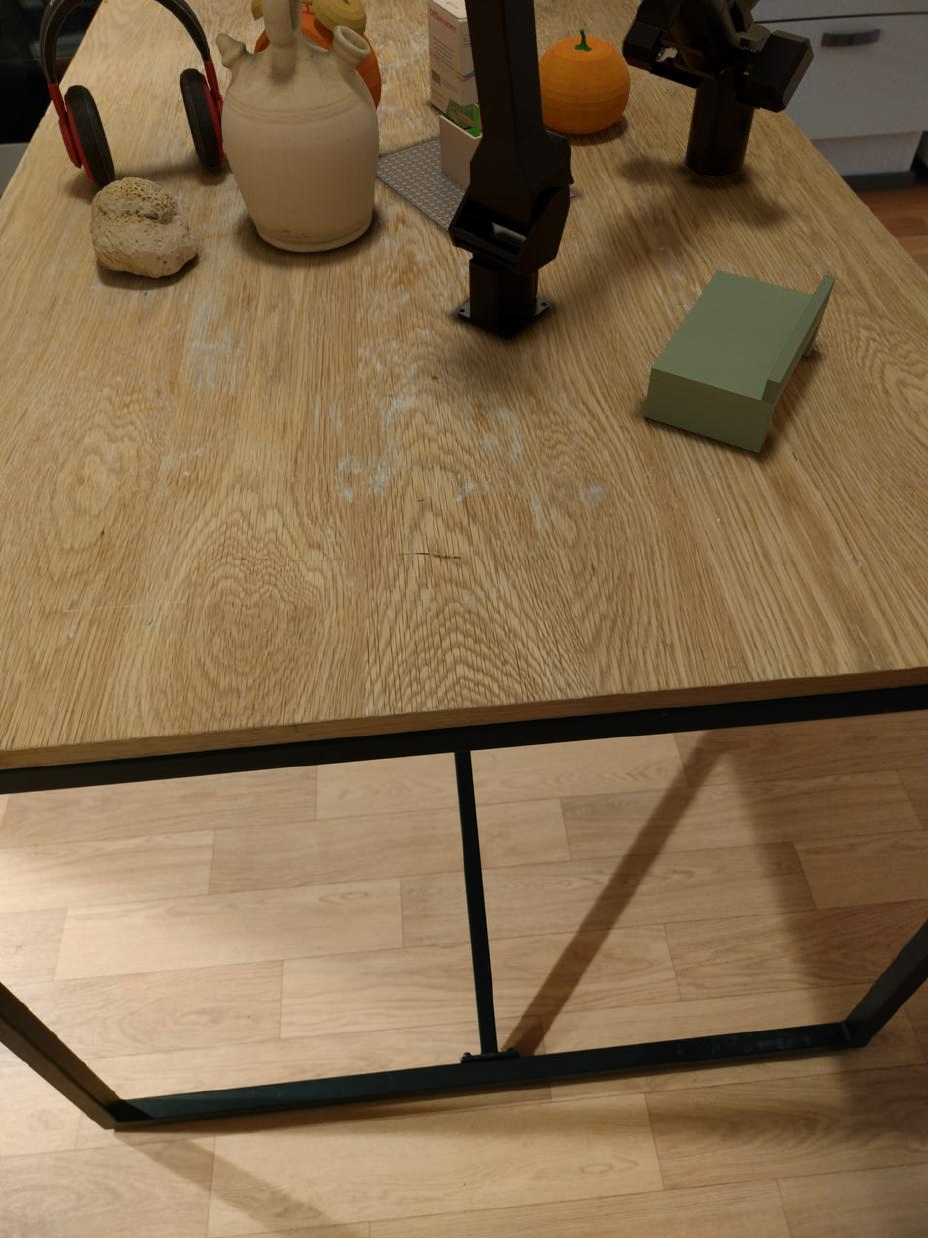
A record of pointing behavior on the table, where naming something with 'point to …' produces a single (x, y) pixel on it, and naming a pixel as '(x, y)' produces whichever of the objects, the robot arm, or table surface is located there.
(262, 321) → the table surface
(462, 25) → the ink box
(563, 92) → the fruit
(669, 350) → the olive lipped block
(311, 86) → the jug
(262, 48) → the alarm clock
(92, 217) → the decorative item
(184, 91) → the headphones
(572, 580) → the table surface
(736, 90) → the canister
